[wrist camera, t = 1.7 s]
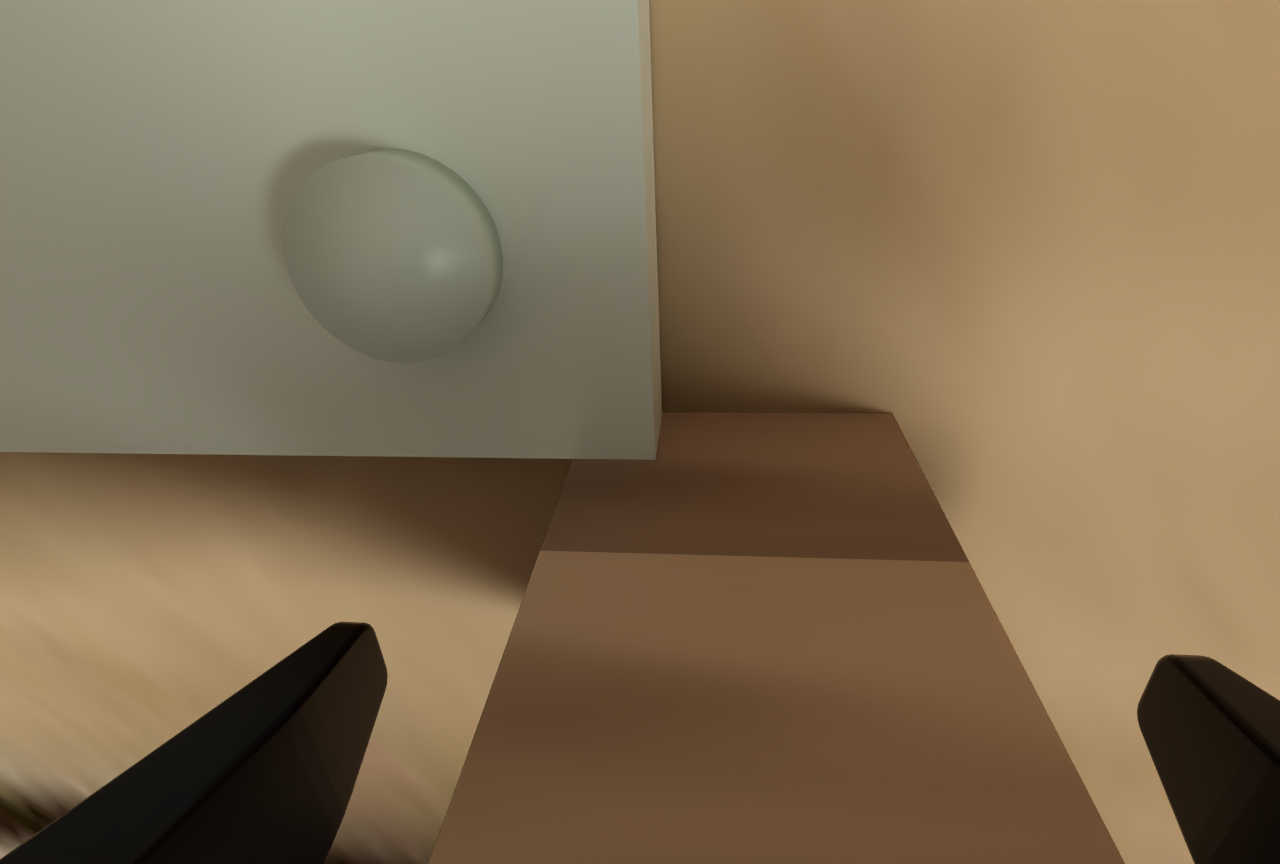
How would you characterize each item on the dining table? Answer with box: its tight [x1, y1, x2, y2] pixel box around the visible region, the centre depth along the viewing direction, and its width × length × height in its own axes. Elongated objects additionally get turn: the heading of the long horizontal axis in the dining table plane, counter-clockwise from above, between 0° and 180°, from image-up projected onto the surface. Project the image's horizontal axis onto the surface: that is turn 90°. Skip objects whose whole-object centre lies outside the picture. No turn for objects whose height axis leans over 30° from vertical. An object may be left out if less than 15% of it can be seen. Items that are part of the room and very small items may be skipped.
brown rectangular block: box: [429, 412, 1125, 864], centre depth 7 cm, size 4×4×6 cm
